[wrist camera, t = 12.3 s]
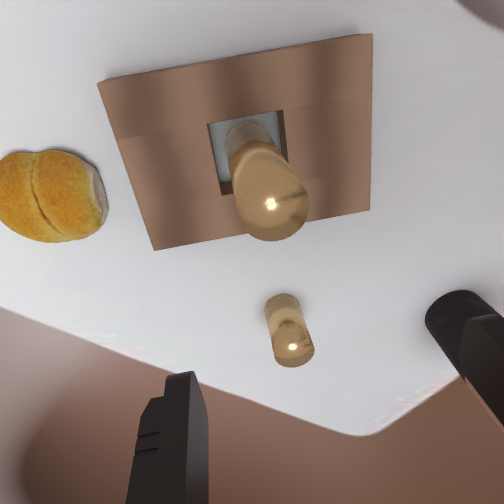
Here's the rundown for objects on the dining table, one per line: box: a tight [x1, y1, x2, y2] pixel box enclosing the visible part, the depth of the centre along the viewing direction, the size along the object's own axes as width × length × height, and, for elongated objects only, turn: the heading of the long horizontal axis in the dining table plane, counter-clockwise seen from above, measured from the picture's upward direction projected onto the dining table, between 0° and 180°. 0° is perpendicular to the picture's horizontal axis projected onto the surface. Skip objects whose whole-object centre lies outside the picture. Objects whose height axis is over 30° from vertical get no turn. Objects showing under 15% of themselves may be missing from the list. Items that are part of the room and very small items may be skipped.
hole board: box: [97, 34, 373, 251], centre depth 31 cm, size 20×14×3 cm
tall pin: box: [225, 121, 309, 241], centre depth 26 cm, size 4×4×14 cm
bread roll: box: [0, 150, 108, 243], centre depth 31 cm, size 8×9×4 cm
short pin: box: [264, 294, 314, 367], centre depth 39 cm, size 4×4×7 cm
